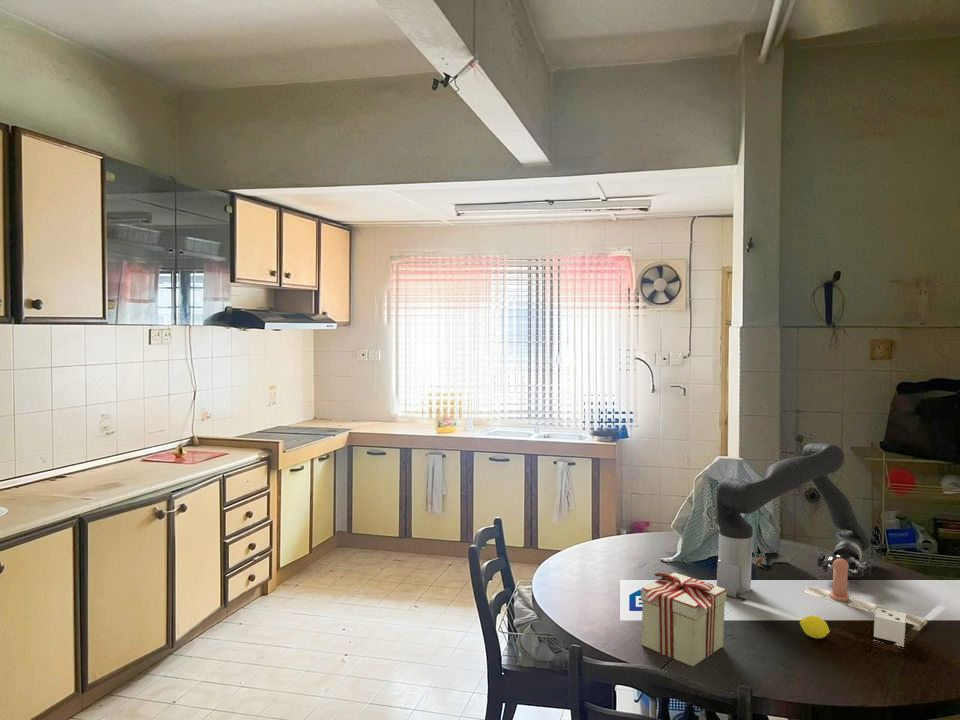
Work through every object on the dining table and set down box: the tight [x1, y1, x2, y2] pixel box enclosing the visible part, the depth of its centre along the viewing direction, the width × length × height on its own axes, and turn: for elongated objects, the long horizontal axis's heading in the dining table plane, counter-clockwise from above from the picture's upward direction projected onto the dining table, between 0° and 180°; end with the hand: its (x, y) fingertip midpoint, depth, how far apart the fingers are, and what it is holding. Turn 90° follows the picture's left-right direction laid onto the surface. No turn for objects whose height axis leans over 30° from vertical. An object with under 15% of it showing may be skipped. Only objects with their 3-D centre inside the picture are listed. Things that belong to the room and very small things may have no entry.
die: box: [872, 608, 907, 647], centre depth 181 cm, size 6×6×7 cm
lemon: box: [799, 615, 831, 640], centre depth 182 cm, size 7×5×5 cm
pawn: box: [829, 558, 850, 602], centre depth 203 cm, size 5×5×12 cm
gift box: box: [640, 572, 727, 667], centre depth 174 cm, size 17×18×17 cm
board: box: [803, 586, 928, 632], centre depth 199 cm, size 7×30×1 cm, turn 43°
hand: (842, 571), depth 208 cm, fingers open, 8 cm apart
